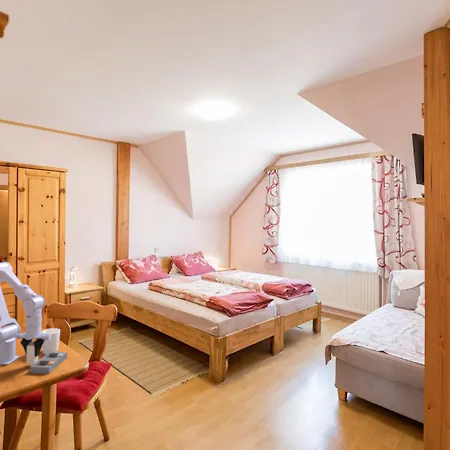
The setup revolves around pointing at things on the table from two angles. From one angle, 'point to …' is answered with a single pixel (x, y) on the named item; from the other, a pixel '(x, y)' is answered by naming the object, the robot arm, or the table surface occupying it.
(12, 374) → the table surface
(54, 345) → the white cup
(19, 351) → the table surface
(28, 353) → the plug
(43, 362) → the socket strip
